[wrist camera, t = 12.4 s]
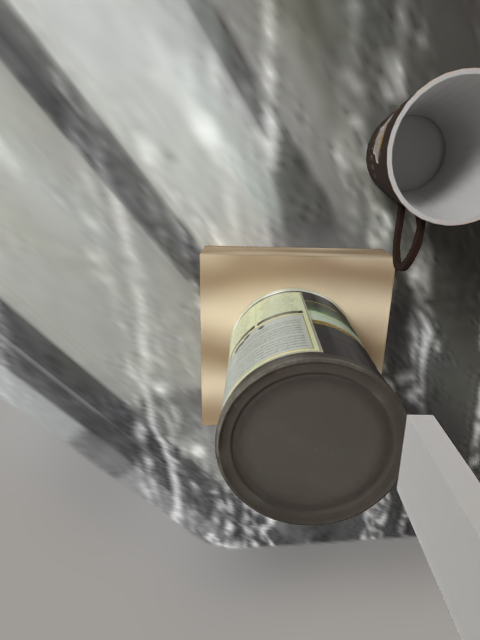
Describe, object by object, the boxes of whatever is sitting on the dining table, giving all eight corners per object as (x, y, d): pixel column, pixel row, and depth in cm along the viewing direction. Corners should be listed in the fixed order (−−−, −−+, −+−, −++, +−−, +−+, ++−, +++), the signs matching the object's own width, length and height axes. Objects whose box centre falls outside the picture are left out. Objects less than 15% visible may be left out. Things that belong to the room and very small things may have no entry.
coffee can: (364, 292, 36) (431, 369, 22) (343, 408, 39) (390, 535, 26) (233, 279, 36) (222, 349, 22) (223, 397, 39) (208, 518, 26)
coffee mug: (408, 67, 34) (467, 31, 25) (486, 145, 36) (569, 139, 26) (304, 192, 37) (321, 202, 28) (380, 259, 39) (421, 289, 29)
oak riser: (205, 245, 39) (199, 254, 35) (382, 249, 39) (396, 258, 35) (206, 402, 44) (202, 424, 40) (364, 406, 43) (374, 429, 40)
